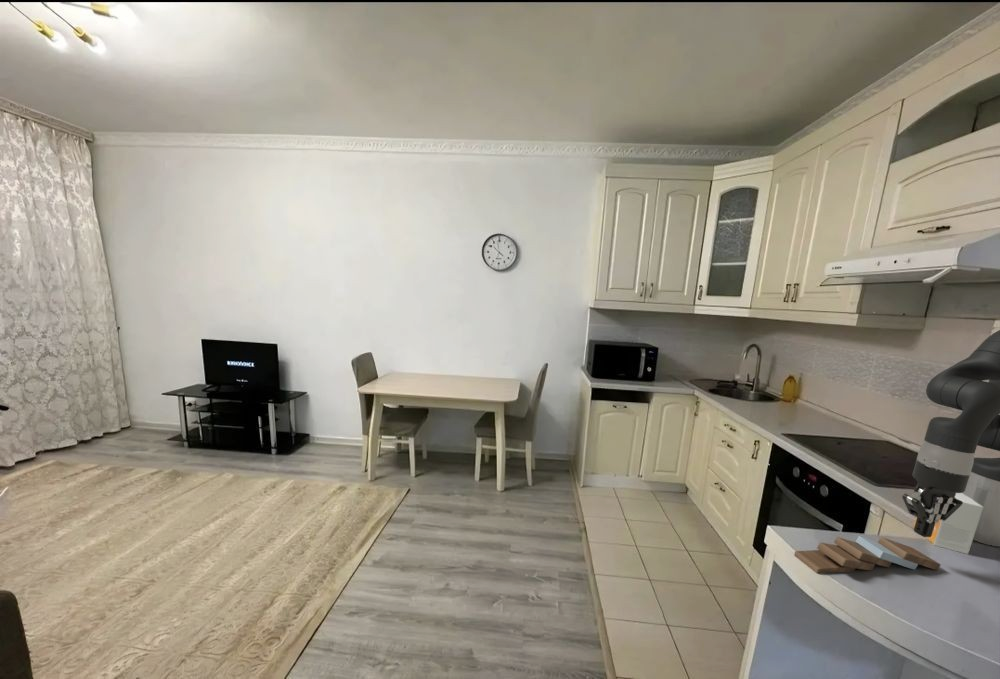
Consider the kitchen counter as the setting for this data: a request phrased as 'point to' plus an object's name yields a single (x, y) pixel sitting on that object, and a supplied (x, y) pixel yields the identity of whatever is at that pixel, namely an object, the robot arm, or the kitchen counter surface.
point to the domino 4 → (884, 552)
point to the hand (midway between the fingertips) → (921, 534)
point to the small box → (958, 526)
